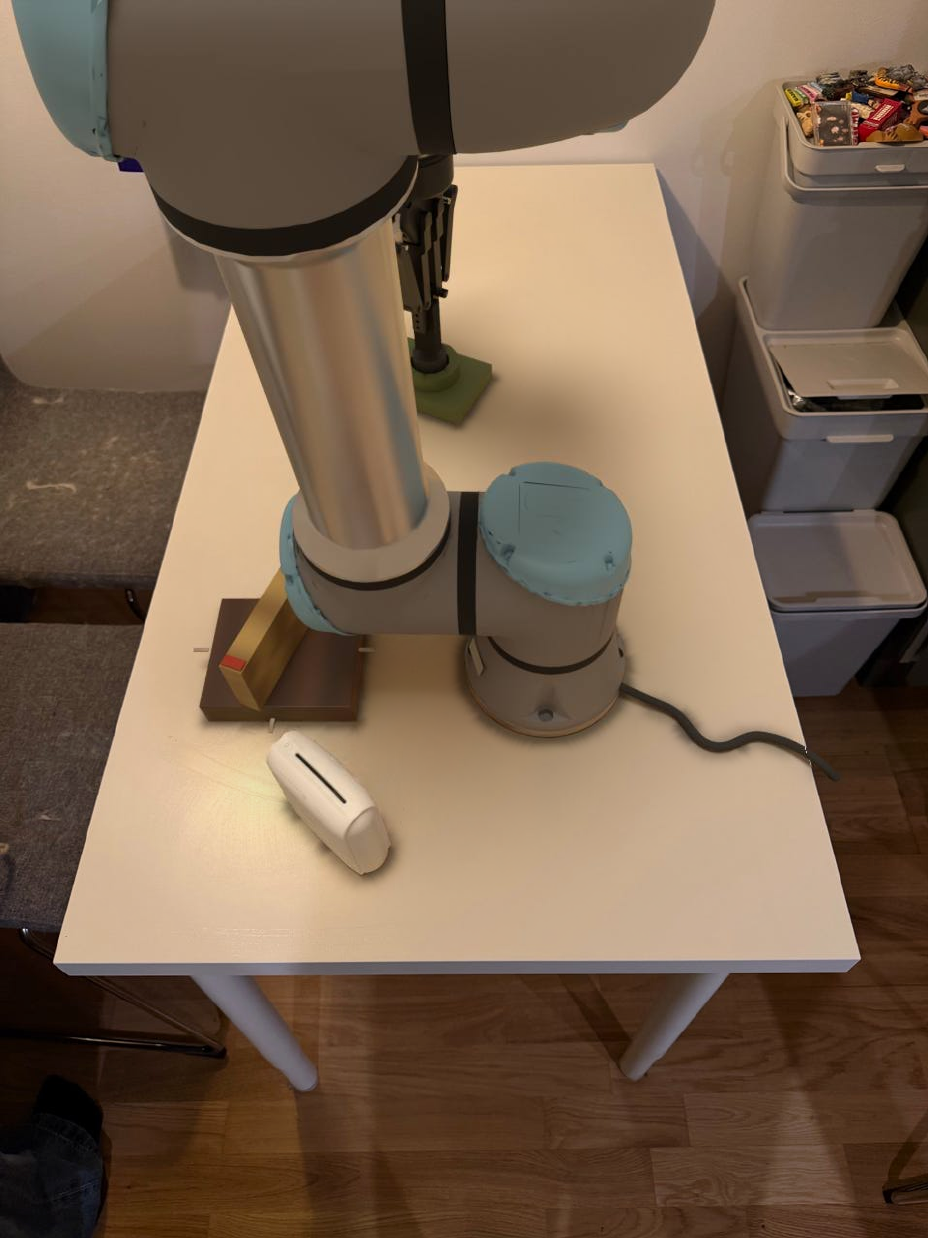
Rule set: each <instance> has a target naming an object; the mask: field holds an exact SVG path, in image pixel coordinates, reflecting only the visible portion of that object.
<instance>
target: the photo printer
mask: <svg viewBox="0 0 928 1238" xmlns="http://www.w3.org/2000/svg"><path fill="white" fill-rule="evenodd" d="M266 765H267V767H268V768H269V770H270V772H271V774H272V776H273V777H274V779H275V781H276V782H277V784H278V785H279V787H280V789H281V791H282V793H283V794H284V796H285V797H286V799H287V800H288V803H289V804H290V806H291V807H292V809H293V811H295V813H296V814H297V815H298V817H299V818H300V819H301V820H302V821H303V822H304V823H305V824H306V826H307V827H309V829H310V830H311V831H312V833H314V834H315V835H316V837H318V838H319V839H320V840H321V841H322V842H323V844H324V845H326V846H327V848H329V849H330V850H331V851H332V852H333V853H334V854H335V855H336V856H337V857H338V858H339V859H340V860H341V861H343V862H344V863H345V864H346V866H348V868H350V869H352V870H353V871H354V872H356V873H357V874H359V875H361V876H362V875H364V874H365V873H366V874H367V873H371V872H374V871H376V870H378V869H379V868H380V867H381V866H382V865H383V864H384V863H385V861H386V859H387V857H388V854H389V849H390V848H392V843H391V840H390V837H389V835H388V832H387V829H386V825H385V824H384V821H383V818H382V815H381V812H380V810H379V807H378V805H377V802H375V800H374V798H373V797H372V795H371V794H370V792H369V791H368V790H367V789H366V787H364V785H362V783H361V782H360V781H359V780H358V779H357V778H356V776H355V775H353V773H351V771H350V770H349V769H348V768H347V767H346V766H345V765H343V763H342V762H340V760H338V759H337V758H336V756H334V755H333V754H332V753H331V752H330V751H328V750H327V749H326V748H325V747H324V746H323V745H321V743H319V742H318V741H317V740H316V739H313V738H312V737H311V736H310V735H308V734H305V733H304V732H301V731H299V730H289V731H286V732H285V733H283V734H282V735H281V737H280V738H279V739H278V740H275V742H273V744H271V746H270V748H269V750H268V752H267V754H266Z"/></svg>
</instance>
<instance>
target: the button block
mask: <svg viewBox="0 0 928 1238" xmlns="http://www.w3.org/2000/svg"><path fill="white" fill-rule="evenodd" d="M407 341H408V348H409V356H410V363H411V371H412V379H413V386H414V394H415V402H416V409H417V412H420V413H422V414H424V415H428V416H431V417H434V418H436V419H439V420H441V421H445V422H447V423H451V424H454V425H456V426H460V424H461V422H462V420H463V419H464V418H465V416H466V415H467V413H468V412H469V411H470V410H471V408H472V407H473V405H474V404H475V403H476V401H477V400H478V398H479V397H480V395H481V394H482V393H483V391H484V390H485V389H486V387H487V386H488V385H489V383H490V382H491V380H492V379H493V364H492V363H489V362H485V361H483V360H480V359H477V358H474V357H472V356H471V357H470V356H467V355H466V354H465V355H464V354H461V353H458V352H457V351H456V350H455V348H453V346H451V345H450V344H447V343H444V342H442V344H443V345H444V346H445V348H446V355H447V365H446V367H445V368H444V369H443V370H442V371H440V372H438V373H436V374H424V373H421V372H418V371H417V370H416V369H415V368H414V365H413V356H412V351H413V348H414V347H415V339H414V338H413V337H410V336H407Z"/></svg>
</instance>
